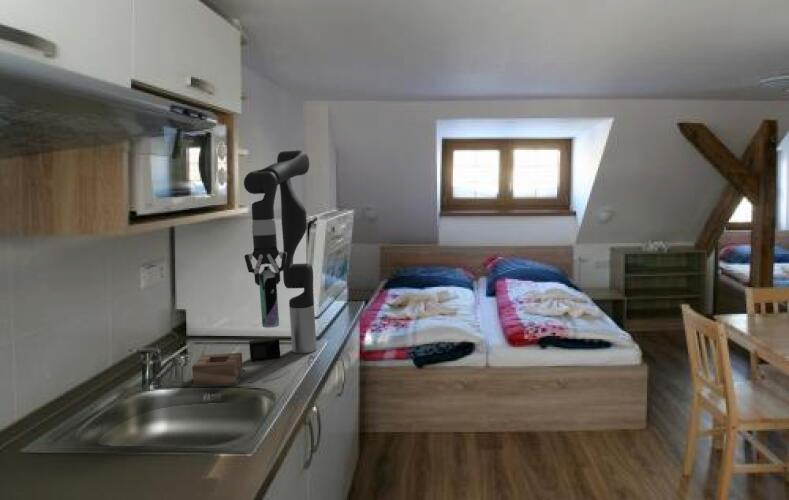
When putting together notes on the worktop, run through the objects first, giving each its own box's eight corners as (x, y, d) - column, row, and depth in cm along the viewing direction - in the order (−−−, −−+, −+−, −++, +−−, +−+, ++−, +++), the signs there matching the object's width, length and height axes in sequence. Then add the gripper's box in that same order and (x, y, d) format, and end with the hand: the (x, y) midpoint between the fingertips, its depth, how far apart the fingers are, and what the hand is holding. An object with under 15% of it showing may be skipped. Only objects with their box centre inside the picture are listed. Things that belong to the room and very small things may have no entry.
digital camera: (252, 363, 219) (250, 344, 218) (250, 359, 224) (248, 340, 223) (281, 358, 222) (279, 340, 222) (278, 355, 227) (277, 336, 227)
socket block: (203, 374, 208) (201, 354, 207) (244, 371, 208) (243, 352, 208) (191, 387, 194) (190, 366, 193) (236, 385, 195) (234, 364, 194)
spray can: (275, 327, 200) (271, 267, 197) (259, 327, 201) (255, 267, 198) (281, 323, 205) (277, 264, 203) (266, 323, 206) (262, 265, 204)
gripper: (287, 231, 203) (291, 281, 205) (244, 233, 203) (248, 283, 205) (285, 233, 196) (288, 285, 198) (239, 235, 195) (243, 287, 197)
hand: (267, 284), depth 201 cm, fingers closed on spray can, 5 cm apart
